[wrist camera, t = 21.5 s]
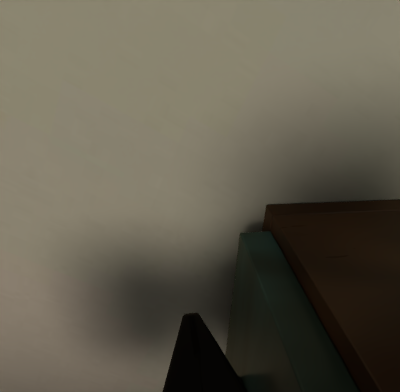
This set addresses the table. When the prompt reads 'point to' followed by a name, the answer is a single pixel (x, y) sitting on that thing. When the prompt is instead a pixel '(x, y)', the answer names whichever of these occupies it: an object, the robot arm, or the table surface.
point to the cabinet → (349, 279)
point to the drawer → (278, 327)
